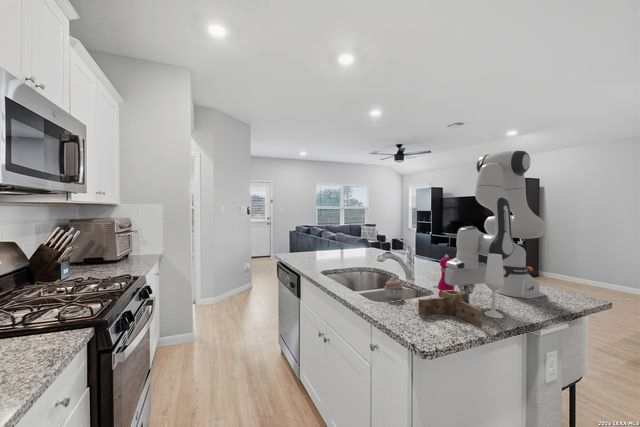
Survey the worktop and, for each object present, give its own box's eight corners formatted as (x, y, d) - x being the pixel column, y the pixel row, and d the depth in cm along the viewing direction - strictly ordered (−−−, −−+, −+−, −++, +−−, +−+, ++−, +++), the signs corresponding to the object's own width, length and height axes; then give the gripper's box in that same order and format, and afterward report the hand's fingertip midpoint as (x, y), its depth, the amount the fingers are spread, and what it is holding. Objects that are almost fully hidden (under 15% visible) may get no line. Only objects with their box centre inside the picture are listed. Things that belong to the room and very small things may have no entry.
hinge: (444, 330, 100) (444, 307, 100) (414, 312, 118) (415, 292, 118) (487, 325, 105) (487, 303, 105) (452, 308, 122) (453, 289, 122)
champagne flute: (505, 318, 112) (507, 256, 111) (486, 316, 114) (487, 255, 113) (500, 312, 118) (501, 253, 118) (482, 310, 120) (483, 252, 120)
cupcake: (398, 302, 130) (398, 280, 130) (379, 298, 136) (380, 276, 136) (407, 297, 137) (407, 276, 137) (389, 293, 143) (389, 273, 143)
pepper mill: (450, 294, 143) (451, 253, 143) (456, 298, 136) (457, 256, 136) (435, 293, 144) (436, 253, 144) (440, 298, 137) (441, 255, 136)
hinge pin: (466, 301, 132) (466, 283, 132) (471, 304, 129) (471, 284, 129) (460, 302, 131) (461, 283, 131) (465, 304, 128) (466, 285, 128)
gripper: (480, 260, 135) (480, 290, 135) (442, 262, 130) (442, 293, 130) (492, 263, 129) (491, 294, 129) (452, 265, 124) (451, 297, 124)
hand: (466, 294), depth 130 cm, fingers closed on hinge pin, 2 cm apart
